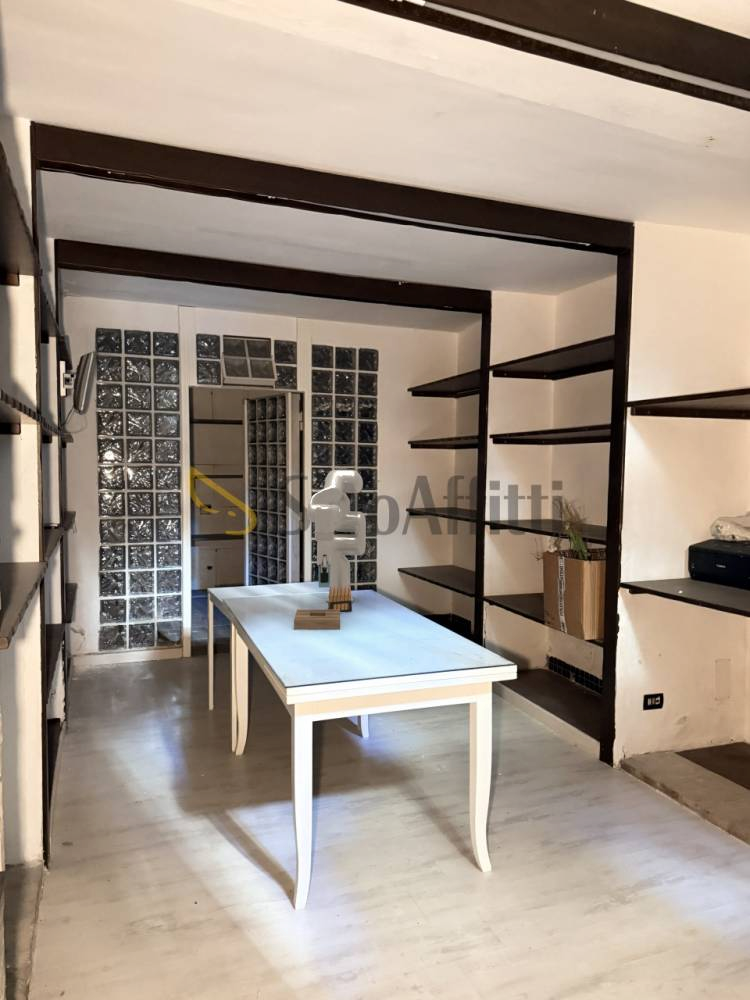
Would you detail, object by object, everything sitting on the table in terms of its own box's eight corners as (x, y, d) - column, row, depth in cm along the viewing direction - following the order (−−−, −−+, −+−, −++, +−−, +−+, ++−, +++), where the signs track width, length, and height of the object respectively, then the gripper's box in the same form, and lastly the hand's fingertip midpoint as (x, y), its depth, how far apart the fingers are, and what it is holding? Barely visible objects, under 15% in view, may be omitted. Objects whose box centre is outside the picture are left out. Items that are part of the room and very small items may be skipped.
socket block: (296, 618, 282) (296, 609, 282) (340, 618, 283) (340, 609, 283) (294, 629, 264) (294, 619, 264) (339, 629, 265) (340, 619, 265)
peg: (318, 585, 275) (318, 566, 275) (329, 585, 276) (329, 566, 275) (318, 587, 271) (318, 567, 270) (329, 587, 271) (329, 567, 271)
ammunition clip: (350, 610, 298) (350, 584, 297) (352, 611, 296) (352, 584, 296) (327, 613, 294) (327, 585, 293) (329, 613, 292) (329, 586, 291)
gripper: (314, 534, 280) (314, 578, 281) (315, 539, 263) (315, 585, 264) (332, 534, 281) (332, 577, 282) (334, 539, 264) (334, 585, 265)
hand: (324, 581), depth 273 cm, fingers closed on peg, 4 cm apart
